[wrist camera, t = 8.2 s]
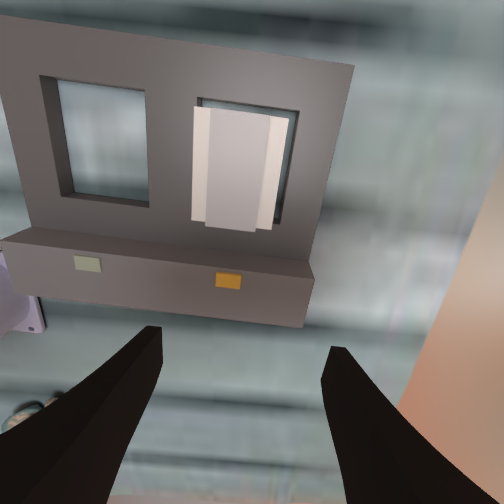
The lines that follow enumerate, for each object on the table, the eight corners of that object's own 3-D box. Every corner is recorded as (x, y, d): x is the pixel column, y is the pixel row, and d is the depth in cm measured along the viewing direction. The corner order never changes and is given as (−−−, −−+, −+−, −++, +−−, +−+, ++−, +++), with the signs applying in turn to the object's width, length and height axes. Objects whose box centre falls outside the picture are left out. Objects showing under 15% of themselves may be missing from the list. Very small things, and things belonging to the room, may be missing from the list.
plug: (212, 192, 19) (188, 224, 13) (217, 114, 17) (190, 105, 10) (268, 199, 19) (271, 234, 13) (279, 122, 17) (290, 117, 11)
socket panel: (55, 266, 22) (12, 295, 18) (4, 22, 15) (-83, -15, 11) (295, 296, 22) (302, 330, 18) (347, 70, 16) (374, 50, 12)
